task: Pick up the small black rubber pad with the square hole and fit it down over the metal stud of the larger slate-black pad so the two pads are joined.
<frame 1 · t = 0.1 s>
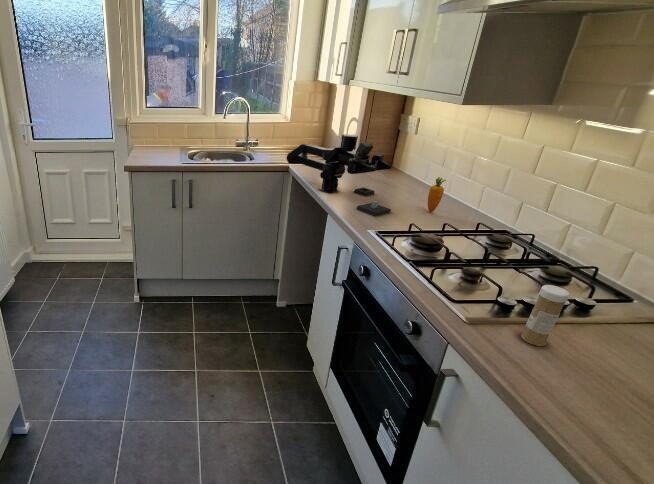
hand: (383, 168, 166), 17 cm above the countertop, tool horizontal, fingers open, 9 cm apart
small pad: (363, 193, 191), on the countertop
carrot: (430, 213, 168), on the countertop
base pad: (373, 210, 169), on the countertop
sprinkles bottle: (532, 341, 93), on the countertop
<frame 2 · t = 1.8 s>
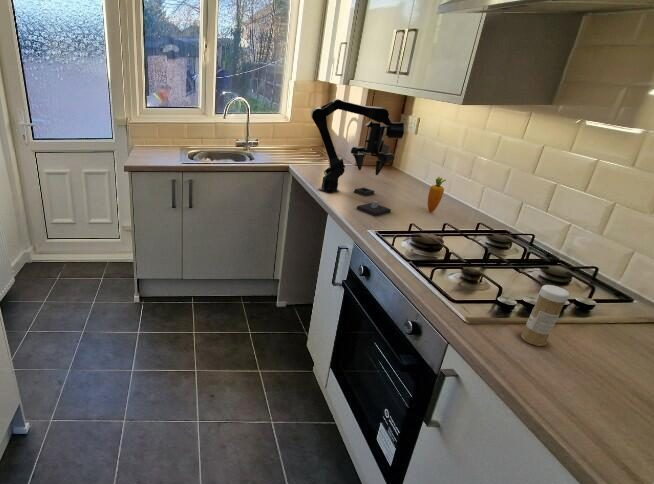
hand: (368, 172, 187), 10 cm above the countertop, tool pointing down, fingers open, 9 cm apart
nothing on the countertop moved.
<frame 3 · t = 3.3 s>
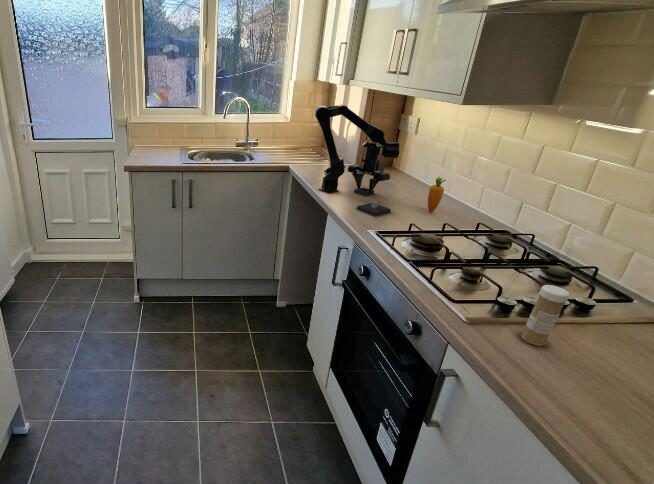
hand: (364, 190, 190), 1 cm above the countertop, tool pointing down, fingers closed on small pad, 6 cm apart
small pad: (363, 193, 191), on the countertop, touching gripper
everything else where it was.
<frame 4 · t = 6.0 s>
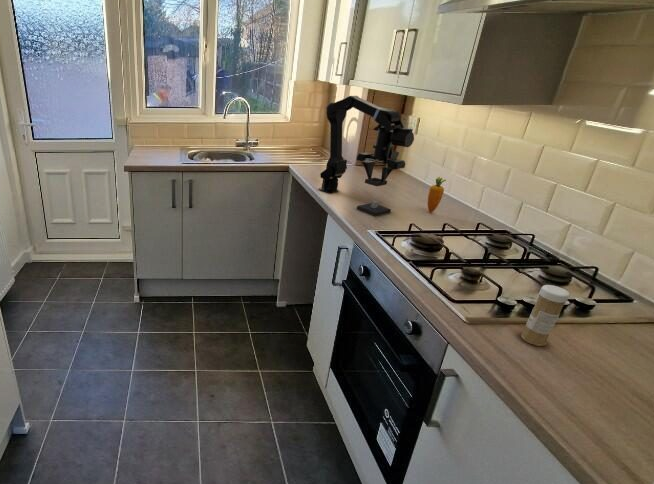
hand: (376, 180, 172), 11 cm above the countertop, tool pointing down, fingers closed on small pad, 6 cm apart
small pad: (375, 183, 172), point 9 cm above the countertop, touching gripper
everything else where it was.
when the fingers open (3 cm above the countertop, at t = 8.9 s): small pad stays where it is, resting on base pad.
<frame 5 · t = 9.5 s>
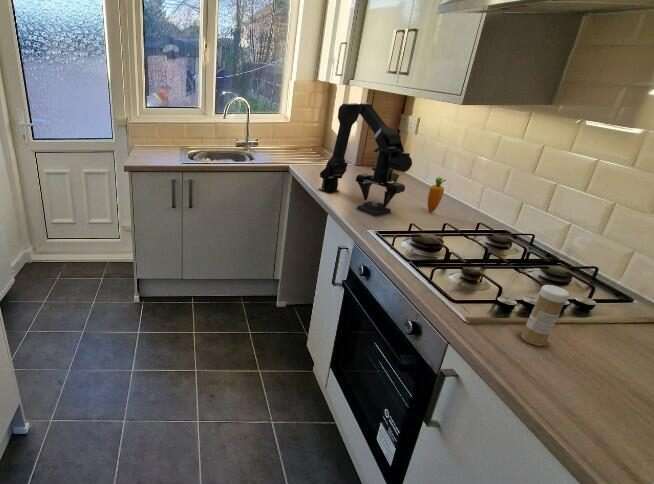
hand: (375, 203, 168), 3 cm above the countertop, tool pointing down, fingers open, 9 cm apart
small pad: (374, 207, 169), point 2 cm above the countertop, touching base pad
base pad: (373, 210, 169), on the countertop, touching small pad
everything else where it was.
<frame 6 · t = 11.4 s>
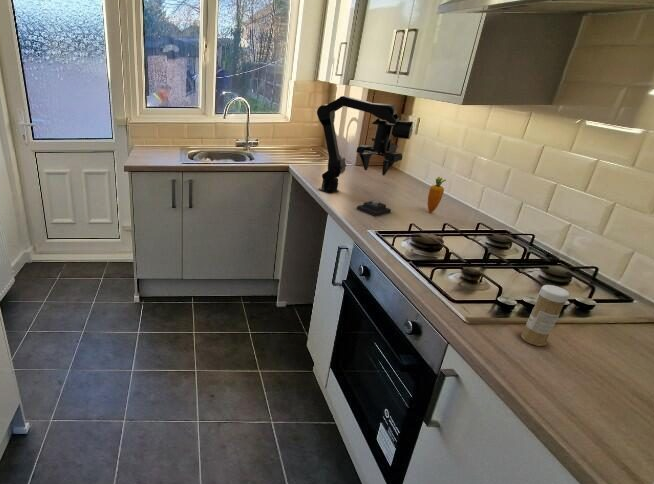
hand: (374, 172, 179), 12 cm above the countertop, tool pointing down, fingers open, 9 cm apart
nothing on the countertop moved.
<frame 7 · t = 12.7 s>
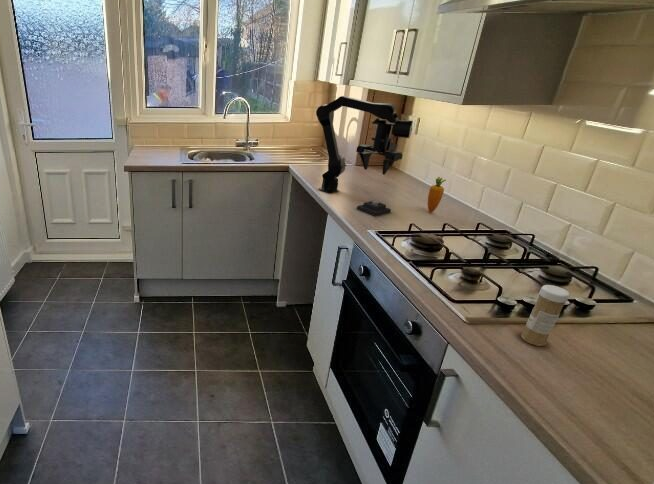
hand: (374, 171, 179), 12 cm above the countertop, tool pointing down, fingers open, 9 cm apart
nothing on the countertop moved.
at the end: small pad 0.1 cm off-centre on the base pad, point 1.5 cm above the base pad's base; small pad tilted 0°; the gripper is holding nothing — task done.
